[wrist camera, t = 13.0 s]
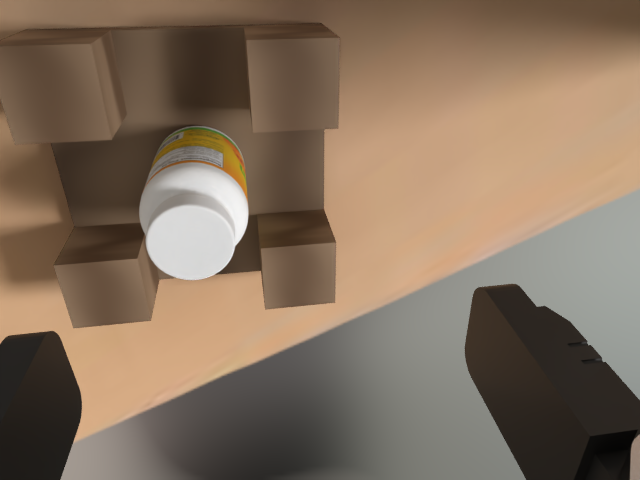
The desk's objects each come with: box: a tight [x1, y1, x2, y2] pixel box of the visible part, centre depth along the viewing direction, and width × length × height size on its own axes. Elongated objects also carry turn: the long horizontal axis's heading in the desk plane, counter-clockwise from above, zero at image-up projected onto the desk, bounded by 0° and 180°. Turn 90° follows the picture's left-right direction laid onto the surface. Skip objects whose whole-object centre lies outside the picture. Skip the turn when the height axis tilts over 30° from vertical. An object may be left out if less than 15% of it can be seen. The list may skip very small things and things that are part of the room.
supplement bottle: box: [139, 126, 249, 280], centre depth 27 cm, size 5×5×10 cm
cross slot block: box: [0, 24, 340, 328], centre depth 29 cm, size 16×16×6 cm
